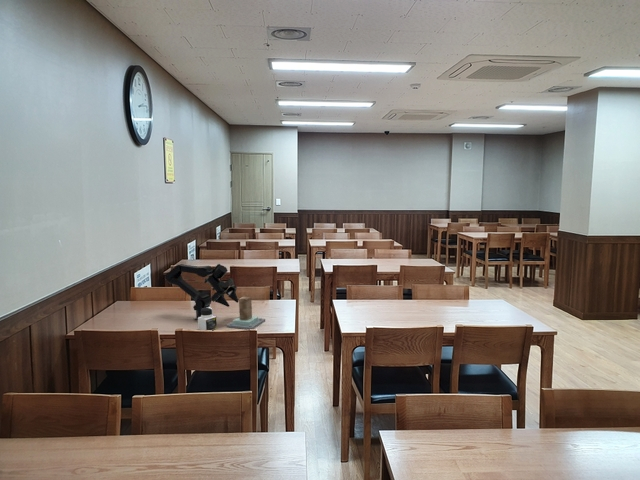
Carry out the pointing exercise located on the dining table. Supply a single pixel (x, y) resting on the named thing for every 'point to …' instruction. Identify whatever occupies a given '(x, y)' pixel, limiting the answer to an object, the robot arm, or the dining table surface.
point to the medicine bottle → (207, 319)
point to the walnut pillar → (245, 308)
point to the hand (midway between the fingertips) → (233, 304)
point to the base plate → (246, 323)
